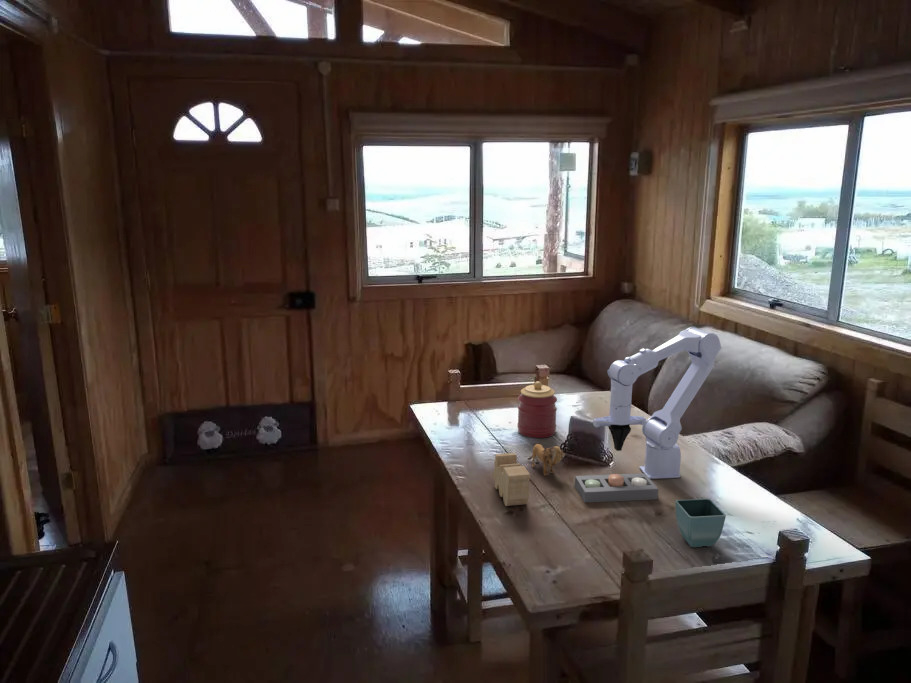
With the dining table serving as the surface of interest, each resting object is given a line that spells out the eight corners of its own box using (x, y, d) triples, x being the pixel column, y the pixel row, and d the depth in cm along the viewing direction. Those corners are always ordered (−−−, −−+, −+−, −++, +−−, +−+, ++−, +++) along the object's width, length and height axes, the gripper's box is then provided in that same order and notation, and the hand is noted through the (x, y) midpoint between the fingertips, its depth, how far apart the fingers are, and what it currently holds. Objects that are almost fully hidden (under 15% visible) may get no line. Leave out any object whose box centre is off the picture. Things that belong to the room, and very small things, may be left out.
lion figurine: (566, 476, 198) (567, 446, 196) (552, 480, 195) (553, 451, 193) (533, 458, 210) (534, 431, 208) (520, 462, 207) (520, 434, 205)
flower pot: (671, 533, 167) (674, 499, 164) (706, 531, 167) (709, 497, 165) (686, 552, 158) (689, 517, 156) (723, 551, 159) (727, 515, 157)
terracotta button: (620, 483, 190) (621, 473, 189) (625, 490, 186) (625, 480, 185) (606, 484, 189) (606, 474, 188) (610, 491, 185) (611, 480, 185)
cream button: (642, 487, 190) (643, 477, 190) (648, 493, 187) (648, 483, 186) (628, 487, 190) (629, 477, 189) (633, 494, 186) (634, 484, 185)
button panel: (644, 482, 193) (644, 473, 193) (657, 499, 184) (658, 488, 183) (574, 485, 192) (575, 476, 191) (584, 502, 182) (585, 492, 181)
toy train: (511, 482, 194) (512, 449, 192) (529, 510, 178) (530, 474, 176) (492, 483, 193) (493, 450, 191) (508, 512, 177) (509, 476, 175)
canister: (562, 429, 234) (564, 379, 230) (545, 441, 223) (547, 389, 219) (527, 422, 241) (529, 373, 237) (510, 433, 230) (511, 383, 226)
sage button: (597, 489, 189) (597, 479, 189) (601, 495, 185) (602, 485, 185) (582, 489, 189) (583, 479, 188) (586, 496, 185) (587, 486, 184)
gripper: (640, 398, 196) (637, 442, 199) (590, 400, 194) (588, 445, 197) (650, 406, 189) (646, 452, 192) (598, 408, 187) (596, 454, 190)
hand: (617, 449), depth 194 cm, fingers closed
